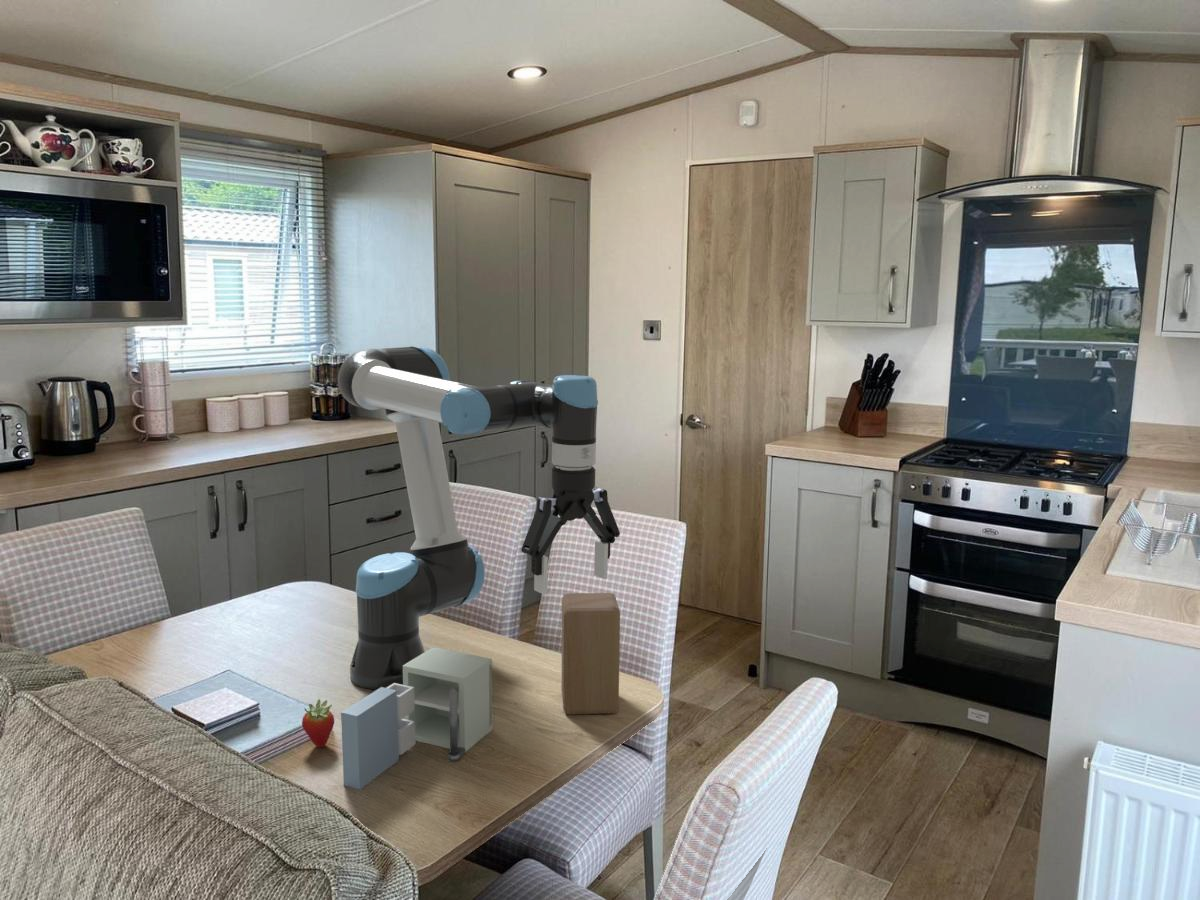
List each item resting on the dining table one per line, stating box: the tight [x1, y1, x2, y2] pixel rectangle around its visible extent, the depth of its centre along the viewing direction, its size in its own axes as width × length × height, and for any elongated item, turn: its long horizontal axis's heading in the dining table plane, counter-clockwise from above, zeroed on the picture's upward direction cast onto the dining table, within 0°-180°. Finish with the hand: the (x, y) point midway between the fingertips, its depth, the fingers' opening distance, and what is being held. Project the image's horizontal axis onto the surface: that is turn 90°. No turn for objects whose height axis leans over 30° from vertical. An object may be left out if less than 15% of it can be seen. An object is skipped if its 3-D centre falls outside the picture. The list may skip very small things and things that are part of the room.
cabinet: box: [403, 646, 493, 753], centre depth 160 cm, size 12×9×13 cm
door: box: [340, 683, 416, 790], centre depth 149 cm, size 4×14×12 cm, turn 156°
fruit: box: [301, 698, 335, 748], centre depth 155 cm, size 5×5×8 cm
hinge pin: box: [447, 689, 466, 763], centre depth 152 cm, size 2×4×12 cm, turn 156°
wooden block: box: [561, 592, 621, 715], centre depth 171 cm, size 10×10×20 cm
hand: (571, 584), depth 164 cm, fingers open, 13 cm apart
